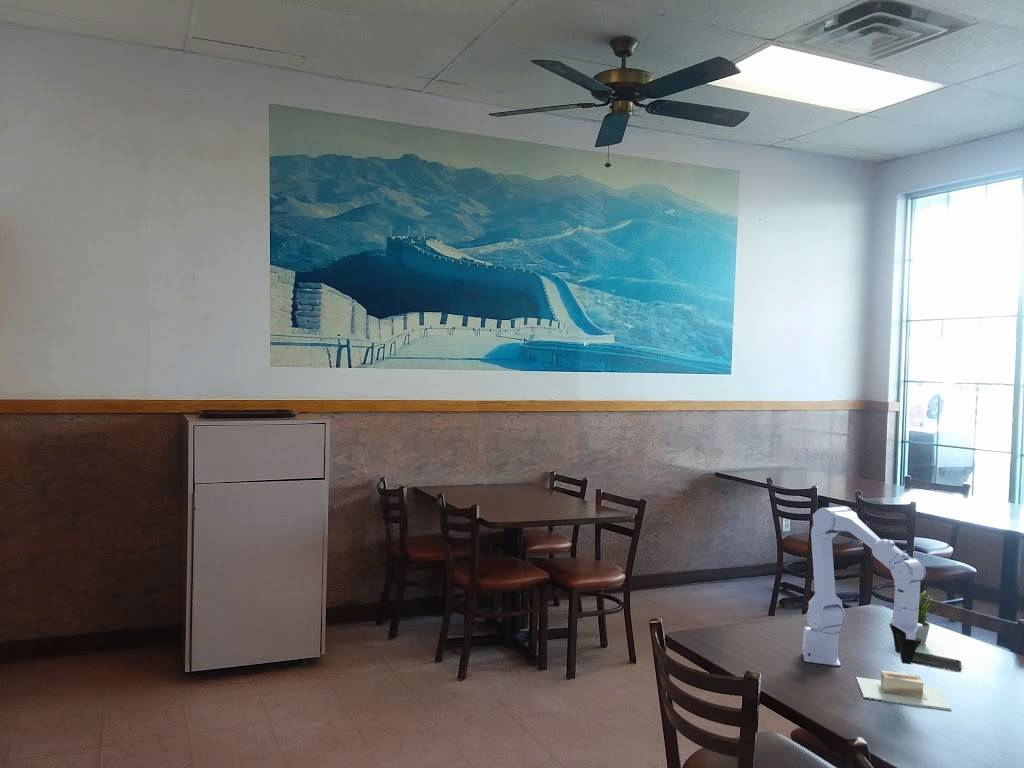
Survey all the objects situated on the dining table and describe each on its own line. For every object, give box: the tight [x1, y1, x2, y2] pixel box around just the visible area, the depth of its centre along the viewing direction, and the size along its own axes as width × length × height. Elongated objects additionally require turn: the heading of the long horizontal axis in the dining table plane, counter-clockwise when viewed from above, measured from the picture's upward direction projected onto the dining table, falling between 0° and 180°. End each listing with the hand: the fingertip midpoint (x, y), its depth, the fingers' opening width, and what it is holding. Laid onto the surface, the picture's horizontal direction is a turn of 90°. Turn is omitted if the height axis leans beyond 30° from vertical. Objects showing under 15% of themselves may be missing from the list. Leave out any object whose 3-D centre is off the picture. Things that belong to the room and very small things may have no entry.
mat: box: [855, 676, 952, 712], centre depth 208 cm, size 20×13×1 cm, turn 75°
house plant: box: [893, 589, 940, 647], centre depth 247 cm, size 14×14×16 cm
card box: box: [880, 670, 924, 698], centre depth 207 cm, size 5×9×4 cm, turn 74°
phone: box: [912, 651, 962, 672], centre depth 231 cm, size 8×1×15 cm
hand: (903, 657), depth 207 cm, fingers open, 7 cm apart
